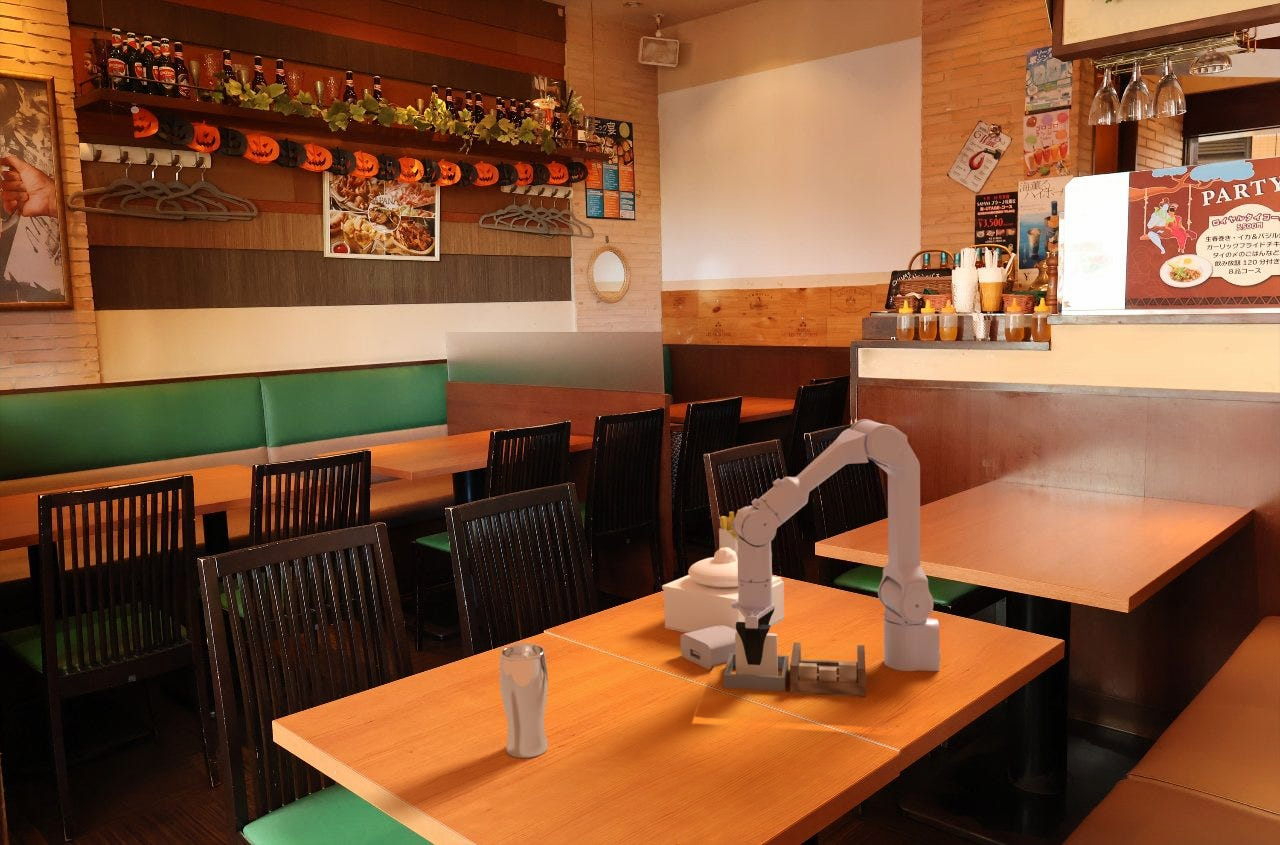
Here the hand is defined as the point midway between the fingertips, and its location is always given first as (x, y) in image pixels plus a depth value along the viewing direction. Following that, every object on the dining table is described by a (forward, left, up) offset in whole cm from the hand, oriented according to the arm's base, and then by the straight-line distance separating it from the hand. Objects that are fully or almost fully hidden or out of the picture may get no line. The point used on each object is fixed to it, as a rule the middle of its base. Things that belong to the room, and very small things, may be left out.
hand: (756, 655), depth 165 cm
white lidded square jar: (+9, -30, -5) cm, 32 cm away
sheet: (0, 0, -4) cm, 4 cm away
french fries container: (+8, -54, -5) cm, 55 cm away
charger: (+6, -13, -5) cm, 15 cm away
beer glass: (+31, +30, -5) cm, 43 cm away
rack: (-12, 0, -5) cm, 13 cm away
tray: (0, 0, -5) cm, 5 cm away
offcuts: (-12, +4, -4) cm, 13 cm away
